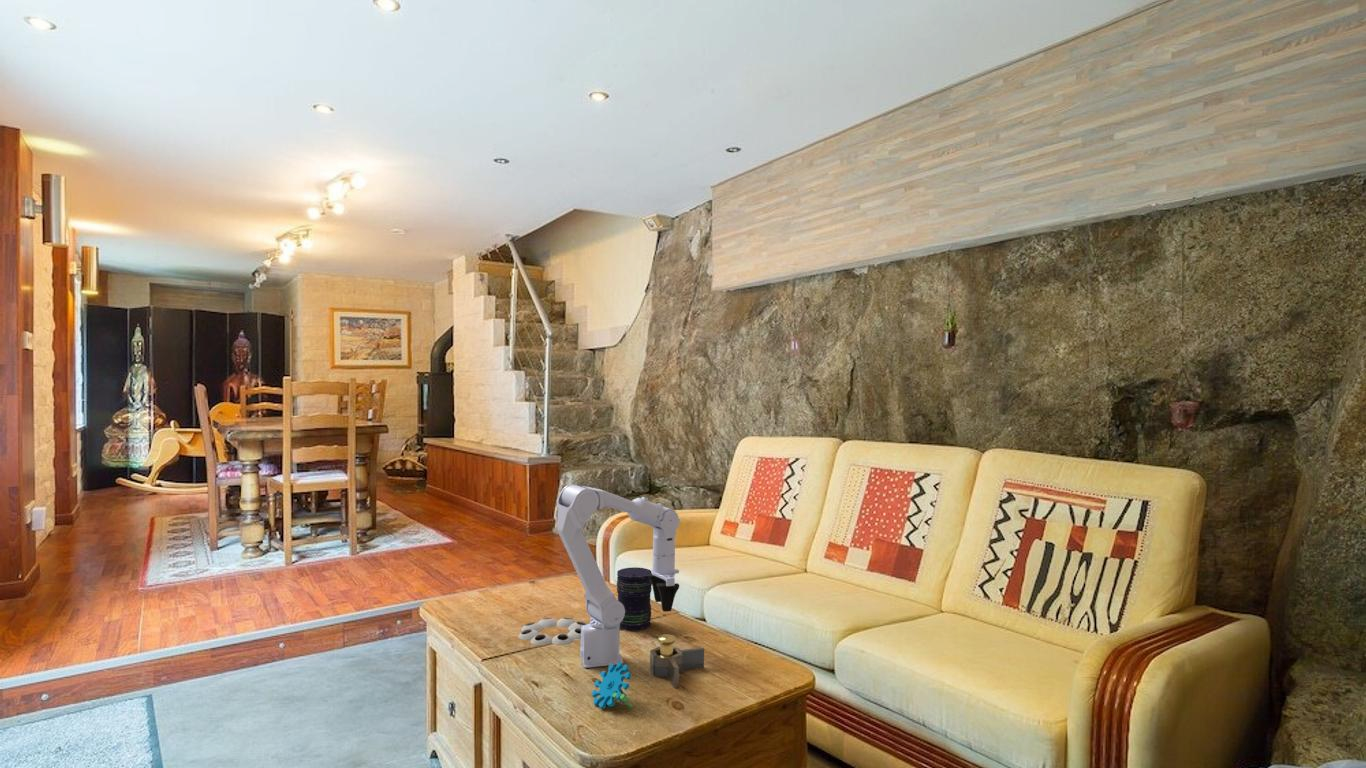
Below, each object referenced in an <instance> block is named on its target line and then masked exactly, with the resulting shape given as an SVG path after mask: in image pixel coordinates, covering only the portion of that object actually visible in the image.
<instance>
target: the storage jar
mask: <svg viewBox="0 0 1366 768" xmlns="http://www.w3.org/2000/svg"><path fill="white" fill-rule="evenodd" d="M649 574H652V570H650V569H648V568H644V567H625V568H621V569H619V570H617V574H616V575H617V577H616V578H617V579H616V593H617V600H618V601H619V602H621V603H622V604H623V606H624V608H625V615H624V618H623V620H622V622H621V623H620V630H622V631H624V630H626V631H625V632H641V630H642V631H645V629H646V630H649V629H650V628H651V626H652V624H651V621H652V605H651V594H652V591H653V587H652V583H651V580H650V578H649V576H648V575H649Z"/></svg>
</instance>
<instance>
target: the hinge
mask: <svg viewBox="0 0 1366 768" xmlns="http://www.w3.org/2000/svg"><path fill="white" fill-rule="evenodd" d="M704 668H705V648H704V647H696V648H685V649H680V648H679V647H675V646H673V656H670V657H666V656H660V646H658V647H655V648H653V649H650V651H649V671H650V672H651V674H652V676H653V677H657V678H664V679H665V678H666V679H668V680H669V682H670V684H671V685H672V687H673V688H674V689H678V688H680V687H679V685H680V683H679V682H680V675H682V674H683V671H686V670H687V671H688V670H689V669H690V670H699V669H704Z"/></svg>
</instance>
